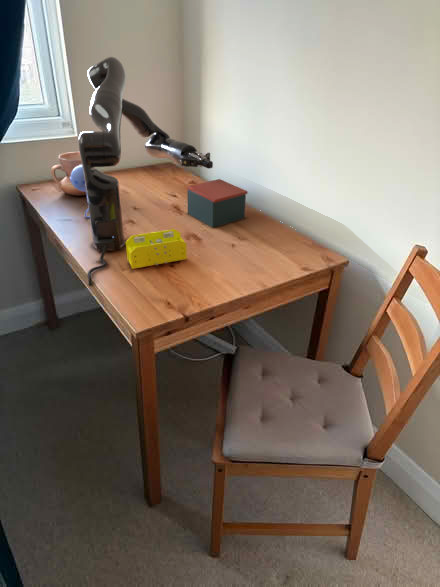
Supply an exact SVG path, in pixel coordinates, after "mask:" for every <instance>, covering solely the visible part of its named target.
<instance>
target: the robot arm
mask: <svg viewBox="0 0 440 587" xmlns="http://www.w3.org/2000/svg"><path fill="white" fill-rule="evenodd" d="M87 77H88V80H89V82H90V84H91V85H92V87H93V89H95V91H94V92H93V94H92V97H91V100H90V106H89V116H90V119H91V120H92V122H93V124H94V125H95V126H96V127H97V128H98V129H100V130H101V131H82V132H80V134H79V136H78V151H79V152H80V157H81V162H82V167H83V172H84V179H85V185H86V192H87V197H86V201H87V200H88V202H87V206H88V207H89V211H88V213H89V216H90V218H89V221H90V227H91V228H90V229H91V235H92V243H93V248H94V249H95V250H96V251H98V252H101V254H100V258H99V261H100V262H101V263H102V264H100V265H98V266H94V267H92V268H90V270H88V271H87V277H88V286H89V287H91V286H92V282H93V280H92V273H94V271H96V270H100V269H104V268H105V267H106V266H107V261H105V260H104V257H105V254H106V252H111V251H112V252H113V251H120V250H121V249H122V248H123V247H124V246H126V239H125V232H124V231H125V230H124V224H123V223H124V222H123V212H122V201H121V192H120V182H119V179H118V178H116V177H115V176H113V175H109V174H108V173H105V172H103V171H101V170H99V169H98V168H111V167H116V166H118V165H119V164H120V162H121V159H122V158H121V157H122V142H121V125H122V116H123V118H125V120H127V122H128V123H129V124H130V125H131V127H132V128H133V129H134V130H135V132H136V133H137V134H138V135H139V137H141V138H143V139H144V138H145V139H146V138H148V137H149V138H148V139H147V141H146V142H145V145H144V149H145V152H146V153H147V154H148V155H149V156H151V157H153V158H156V159H169V160H171V161H172V162H174V163H176V164H179V165H180V166H182V167H186V168H189V167H193V168H198V167H200V168H201V167H202V168H203V167H204V168H206V169H208V170H209V169H212V168H214V162H213V161H212V160H211V152H206V153H205V154H204V153H202V152H199V151H198V150H197V148H196V147H195V146H193V145H191V144H189V143H186V142H184V141H181V140H180V141H179V140H177V139H173V138H171V136H170V134H169V133H168V132H166V131H165V130H164V129H162V128H161V127H159V126H158V125H157V124H156V123H155V122H154V121H153V120H152V118H151V117H150V115H149V114H148V113H147V111H146V110H145V109H144V108H143V107H141V106H140V105H138V104H136V103H134V102H131V101H129V100H127V99H125V98H124V97H123V96H124V91H125V87H126V83H127V74H126V70H125V67H124V65H123V63H122V62H121V61H120V60H119V59H118V58H117V57H115V56H109V57H105V58H104V59H102V60H100V61H99V62H97V63H96V64H94V65H93V66H91V67H90V68H89V69H88V70H87ZM88 207H87V208H88Z"/></svg>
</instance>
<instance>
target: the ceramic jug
mask: <svg viewBox="0 0 440 587" xmlns="http://www.w3.org/2000/svg"><path fill="white" fill-rule="evenodd" d="M58 161H59V163H60V164H55V165H53V166H52V167H51V169H50V174H51V177H52V179H53V181H54V182H55V183H56V184H57V186H58V188H59V189H60V190H61V191H62V192H63V193H64V194H67V195H71V196H86V192H85V191H80V190H78V189H76V188H75V187H74V186H73V184H72V183H71V180H70V176H71V173H72V171H73V169H74V168H75V167H77V166H79V165H82V162H81V157H80V152H79V150H78V151H70V152H63V153H60V154H59V155H58ZM56 170H60V171H62V172H64V173H65V174H66V176H65V177H64V178H62V179H61V180H60V181H59V178H58V177H57V176H56Z"/></svg>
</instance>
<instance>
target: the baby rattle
mask: <svg viewBox="0 0 440 587" xmlns="http://www.w3.org/2000/svg"><path fill="white" fill-rule="evenodd" d="M70 180H71V183H72V184H73V186H74V187H75V188H76V189H78V190H80V191H85V192H86V185H85V179H84V172H83V167H82V165H79V166H77V167H75V168H74V169H73V171H72V173H71V176H70ZM85 196H86V198H87V192H86V195H85ZM86 201H87V202H86V203H88V200H87V199H86ZM87 213H89V207H87V209H86V210H85V211H84V217H85V218H86V219H90V215H87Z"/></svg>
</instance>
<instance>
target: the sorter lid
mask: <svg viewBox="0 0 440 587" xmlns="http://www.w3.org/2000/svg"><path fill="white" fill-rule="evenodd" d="M187 189H189V190H191V191H193V192H195V193H197V194H199V195H201V196H203V197H205V198H207V199H209V200H211V201H213V202H218V201H222V200H226V199H230V198H233V197H237V196H241V195H245V194H246V195H248V194H249V193H248V192H249V191H247V190H246V189H243V188H241V187H239V186H237V185H234V184H232V183H230V182H227V181H225V180H223V179H221V178H218V179H214V180H209V181H205V182H200V183H196V184H193V185H188V186H187V188H186V190H187Z"/></svg>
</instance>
